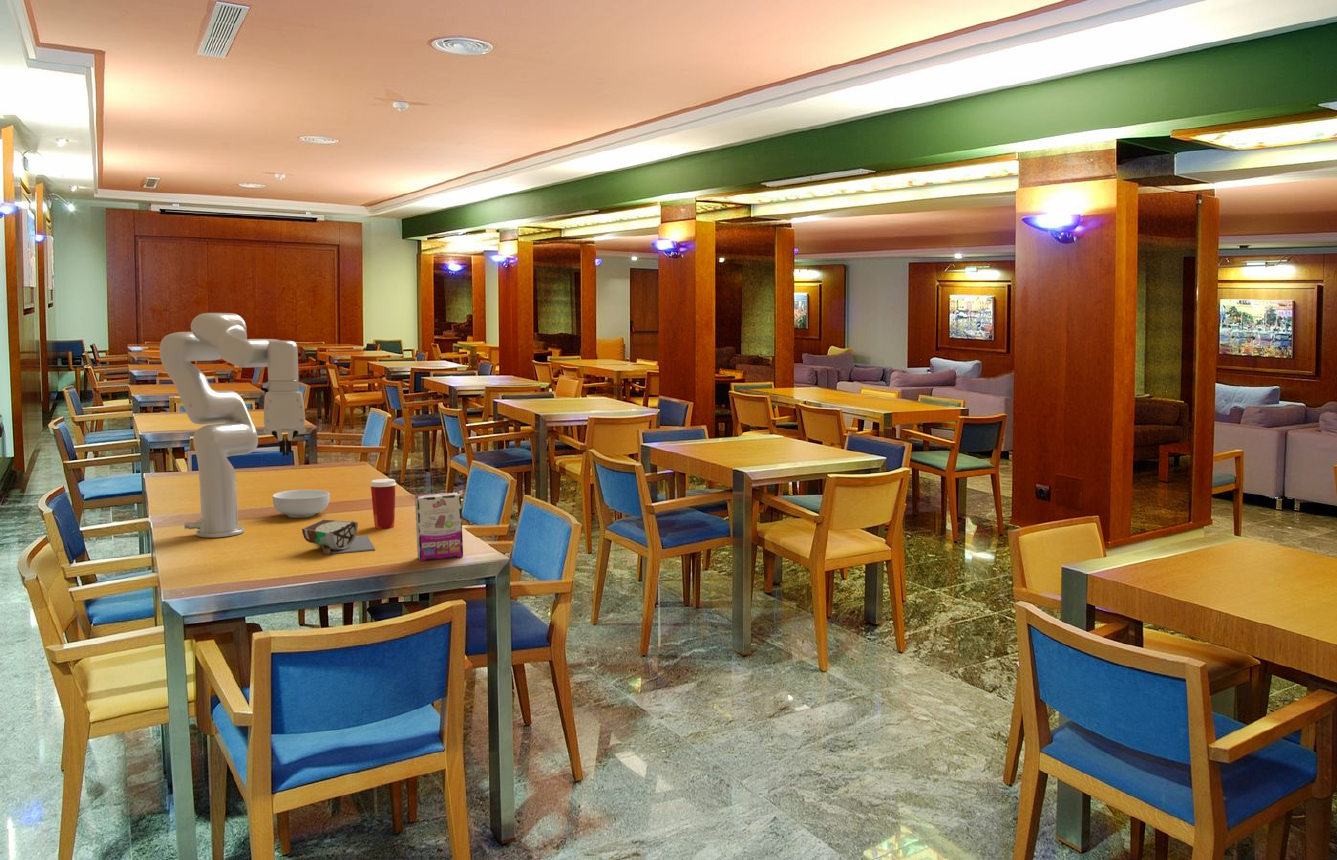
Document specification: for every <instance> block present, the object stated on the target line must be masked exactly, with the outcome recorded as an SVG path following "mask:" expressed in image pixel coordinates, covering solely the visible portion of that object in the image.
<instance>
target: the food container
mask: <svg viewBox="0 0 1337 860" xmlns="http://www.w3.org/2000/svg"><path fill="white" fill-rule="evenodd" d="M358 525H359V522H358V521H353V520H351V521H348V520H346V521H345V520H336V519H321V520H319V521H317V522H313V523H312V524H310V525H308V526H306V527H303V528H301V531H302V535H303V538H304V540H305V541H306V542H307V543H310V544H315V545H320V546H321V545H324V546H329V547H330V548H331V549H333V550H343V549H345V548H347V547H349V546H350V545H351V544H352V542H353V541H354V539H355V537H357V533H358V528H359V527H358Z"/></svg>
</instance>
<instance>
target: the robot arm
mask: <svg viewBox="0 0 1337 860" xmlns="http://www.w3.org/2000/svg"><path fill="white" fill-rule="evenodd" d="M190 330H191V331H178V332H173V333H169V334H167V335H165V336H164V337H163V338H162V339H161V341H160V344H159V357H160V361H161V364H162V367H163V369H164V370H165V372H166V374H167V376H168V377H169V378H170V380H171V381H172V383H173V385H174V386H175V388H176V391H177V394H178V396H179V399H180V401H181V403H182V405H183V408H184V410H185V413H186V415H187V417H188V419H189V420H190V422H192V423H193V424H195V425H204V426H202V427H201V426H200V428H198V429H197V430H195V432H194V435H193V439H192V445H193V448H194V452H195V455H196V460H197V466H198V467H197V468H198V480H199V498H200V519H199V520H197V519H196V521H184V529H187V530H196V529H197V530H196V532H195V534H196V535H195V536H196V537H200V538H205V539H206V538H213V539H214V538H224V537H232V536H237V535H240V534H243V533H244V532H245V527H244V526H242V525H239V516H238V515H239V514H238V513H239V512H238V496H237V495H238V494H237V479H236V478H237V477H236V474H237V473H236V471H235V468H234V466H233V465H232V463H231V461H230V460H229V459H228V458H229V457H233V456H242V455H247V454H251V453H253V452H254V451H256V449H257V447H258V445H259V437H258V432H257V429H256V427H255V425H254V422H253V419H252V417H251V414H250V412H249V409H248V408H247V406H246V403H245V401H244V399H243V398H242V396H241V395H240V394H239V393H237V392H236V391H233V390H215V389H213V388H212V387H211V384H210V383H209V381H208V378H207V376H206V375H205V374H204V373H203V371H201V369H199V368H198V367H197V366H196V365H194V364H193V363H192V362H203V361H204V362H206V361H208V362H209V361H210V362H211V361H218V360H221V359H222V360H223V361H225V362H227V363H229V364H231V365H234V366H235V367H239V368H245V369H246V368H267V379H268V381H267V382H266V381H265V382H262V388H263V389H267V390H268V391H267V392H265V394H264V400H263V401H264V402H263V425H264V427H263V434H265V435H269V436H273V437H274V438H275V439H276V440H278V442H279V443H278V444H279V453H282V457H284V456H287V457H288V456H290V453H292V440H293V439H294V438H295V437H297V435H301V434H304V433H306V432H307V428H306V413H305V404H304V403H305V402H304V397H303V396H304V395H303V393H302V391H300V389H299V388H300V387H299V357H298V356H299V353H298V352H299V350H298V344H297V343H296V341H293V340H281V339H275V338H250V339H249V338H248V333H247V324H246V322H245V320H244V319H243V317H241V316H240V315H238V314H237V313H233V312H232V313H231V312H203V313H200V314H198V315H197V316H195V317H194V318H193V319H192V321H191V323H190ZM284 430H285V431H287V436H286V438H284V436H283V432H282V431H284ZM285 439H286V440H285Z"/></svg>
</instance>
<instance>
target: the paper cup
mask: <svg viewBox="0 0 1337 860" xmlns="http://www.w3.org/2000/svg"><path fill="white" fill-rule="evenodd" d="M396 485H397V482H396V480H395V479H393V478H377V479H372V480H371V481H370V484H369V487H370V492H371V503H372V513H373V521H374V522H373V523H374V524H373V525H374V528H375V529H379V530H382V529H385V530H386V529H392V528H394V527H395V519H396V516H395V515H396V513H395V512H396Z"/></svg>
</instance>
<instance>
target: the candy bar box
mask: <svg viewBox="0 0 1337 860" xmlns="http://www.w3.org/2000/svg"><path fill="white" fill-rule="evenodd" d="M414 502H415V503H414V505H415V525H416V526H415V527H416V528H415V529H416V532H415V533H416V548H417V550H416V552H417V558H418V559H419V561H420V562H425V561H436V560H446V559H455V558H463V557H464V546H463V543H464V542H463V541H464V540H463V517H462V516H463V514H462V496H461V494H460V493H459V492H445V493H434V494H421V495H415V496H414Z"/></svg>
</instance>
